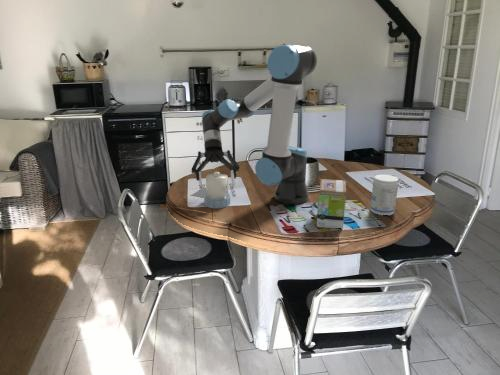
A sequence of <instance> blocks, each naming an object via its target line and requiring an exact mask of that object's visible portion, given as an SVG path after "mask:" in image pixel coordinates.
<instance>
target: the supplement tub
mask: <svg viewBox="0 0 500 375" xmlns="http://www.w3.org/2000/svg"><path fill="white" fill-rule="evenodd" d="M398 189H399V177H396V176H394V175H391V174H377V175H375V176H374V177H373V182H372V189H371V190H372V192H371V198H370V208H369V209H370V211H371V212H372V213H373V214H376V215H377V214H378V216H383V215H388V216H392V215H394V213H395V210H396V204H397V197H398V196H397V195H398Z"/></svg>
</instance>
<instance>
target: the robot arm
mask: <svg viewBox="0 0 500 375" xmlns="http://www.w3.org/2000/svg"><path fill="white" fill-rule="evenodd" d="M317 58H318V57H317V54H316V52H315V51H314V49H313V48H311V46H309V45H304V44H283V45H282V44H281V45H278V46H276V47H274V48H273V50H271V52H270V54H269V55H268V58H267V61H266V64H267V66H266V67H267V71H269V74H270V77H269V78H268V79H267V80H265V81H264V82H263V83H261V84H260V85H259V86H258V87H256V88H255V89H253V90H252V91H251V92H249V93H248V94H247V95H246V96H245V97H243V98H242V99H241V100H239V101H235V100H233V99H229V98H226V99H225V100H224V101H222V102H221V103H219V105H218V106H217V107H215V108H214V110H213V109H207V111H203V113H202V114H201V124H202V132H203V144H204V152H201V151H198V152H197V157H196V159H195V160H194V163H193V165H192V167H191V174H195V177H196V178H195V180H196V181H198V184H199V189H203V188H202V187H203V183H202V170H203V169H204V168H205V167H206V166H207V165H208V164H209V163H221V164H222V165H224V166H225V167H226V168H228V169H229V171H230V176H231V178H230V179H231V184H232V185H231V186H232V187H235V185H236V182H235V181H236V180H235V179H237V172H239V171H240V169H241V168H240V167H241V166H240V165H239V163H237V161H236V160H235V158H234V157H233V155H232V154H231V151H230V150H229V149H228V150H227V151H223V145H222V144H223V143H222V137H221V135H222V134H221V128H222V127H223V126H224V125H225V124H227V123H228V122H230V121H233V120H240V119H245V118H250V117H252V116H254V115H255V114H256V111H257V110H258V109H259V108H261V107H262V106H264V105H265V104H266V103H268V102H269V101H271V100H272V104H271V112H270V119H269V129H268V135H267V143H266V144H267V145H266V146H264V148H263V149H262V152H261V158H259V159H258V160H257V162H256V163H255V165H254V170H255V174H256V176H257V178H258V179H259V181H260V182H261V183H262V184H264V185H265V186H275V185H276V187H275V191H274V200H276V202H279V203H282V204H289V205H297V204H303V203H307V202H308V201H309V200H310V193H309V190H308V187H307V182H306V181H307V180H306V177H307V176H306V175H307V174H306V173H307V161H308V156H307V150H306V149H305V148H303V147H297V146H290V141H291V140H290V139H291V134H292V133H291V132H292V126H293V118H294V111H295V105H296V99H297V92H298V88H300V87H301V86H302V85H303V80H304V79H306V78H307V77H308V76H311V74H312V73H313V72H314V71H315V69H316V67H317V64H318V59H317ZM224 156H225V157H226V158H227V159H228V160H229V161H228V160H227V159H226V158H225V157H224ZM203 157H205V159H204V160H203V161H202V163H201V164H200V162H201V159H203ZM199 164H200V165H199Z"/></svg>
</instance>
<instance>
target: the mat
mask: <svg viewBox="0 0 500 375" xmlns="http://www.w3.org/2000/svg"><path fill="white" fill-rule="evenodd" d="M205 195H206V187H203V188H200V189H199V190H197V191H196V192H194V193H192V194H190V196H191V197H195V198H196V197H197V198H203V199H204V196H205Z"/></svg>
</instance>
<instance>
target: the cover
mask: <svg viewBox="0 0 500 375" xmlns="http://www.w3.org/2000/svg"><path fill="white" fill-rule="evenodd" d="M228 178H229V177H228V174H226V173H221V172H219V171H214V172H213V173H210V174H207V175H206V176H205V186H206V187H205V188H206V195H207V198H208V199H210V200H224V199H226V198H228V195H229V185H228V184H229V182H228Z"/></svg>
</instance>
